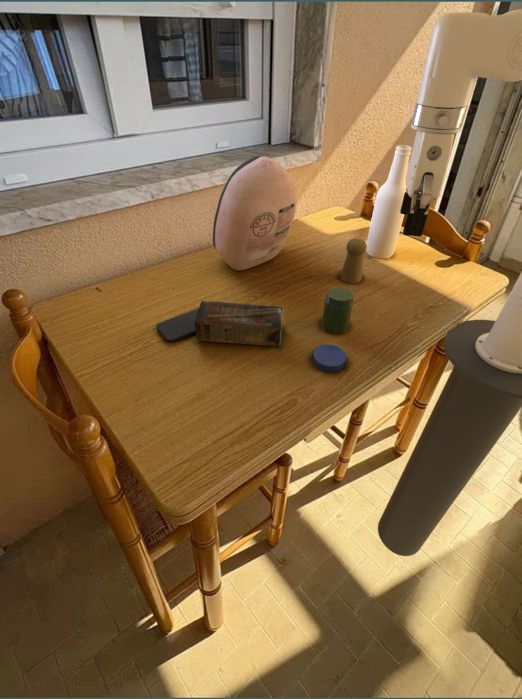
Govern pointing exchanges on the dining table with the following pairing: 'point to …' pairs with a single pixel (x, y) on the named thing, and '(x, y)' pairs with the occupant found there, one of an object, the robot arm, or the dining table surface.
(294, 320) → the dining table surface
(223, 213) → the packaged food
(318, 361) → the jar lid
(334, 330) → the jam jar
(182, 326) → the phone
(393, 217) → the alcohol
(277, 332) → the beverage carton
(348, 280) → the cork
